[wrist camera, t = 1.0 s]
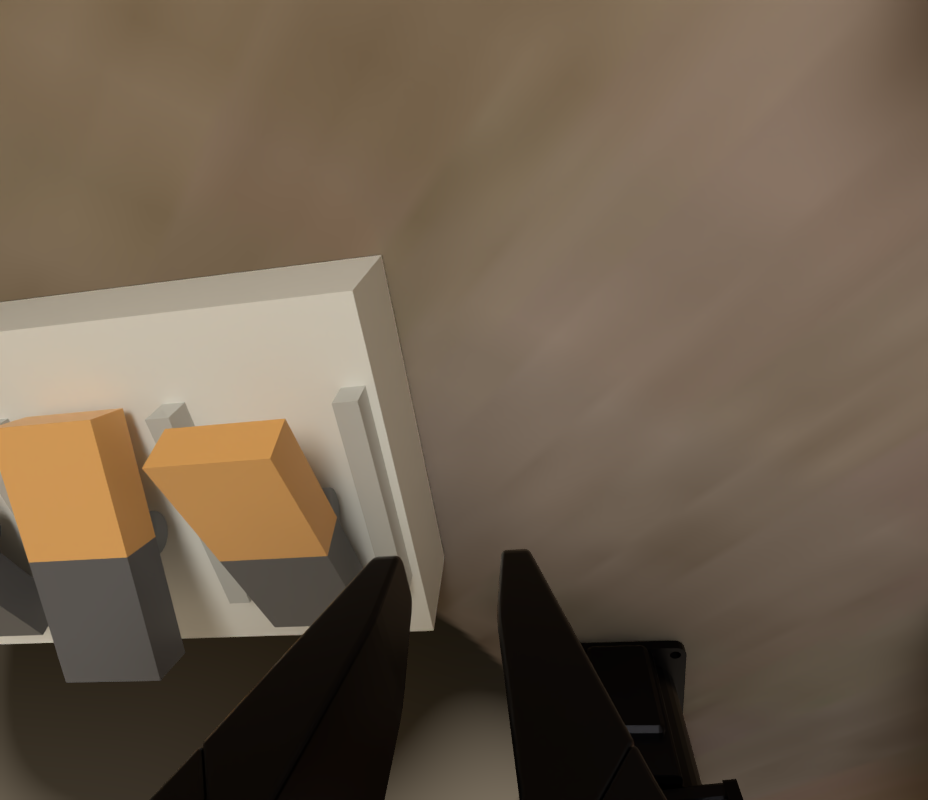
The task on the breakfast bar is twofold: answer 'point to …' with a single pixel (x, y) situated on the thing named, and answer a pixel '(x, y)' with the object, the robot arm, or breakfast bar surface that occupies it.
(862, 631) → the breakfast bar surface
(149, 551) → the block
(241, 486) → the rocker
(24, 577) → the block
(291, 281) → the switch box
